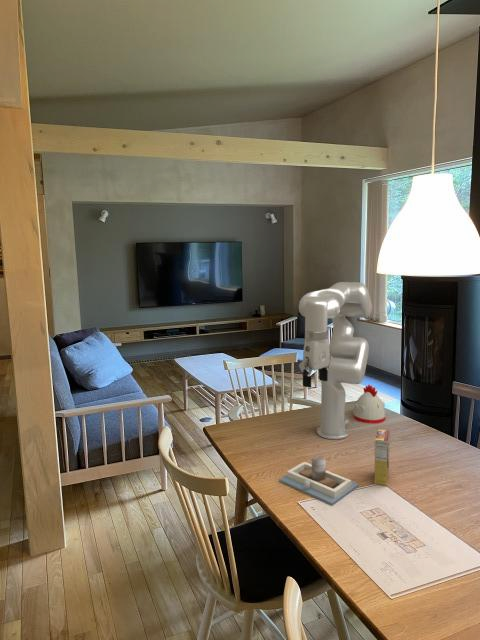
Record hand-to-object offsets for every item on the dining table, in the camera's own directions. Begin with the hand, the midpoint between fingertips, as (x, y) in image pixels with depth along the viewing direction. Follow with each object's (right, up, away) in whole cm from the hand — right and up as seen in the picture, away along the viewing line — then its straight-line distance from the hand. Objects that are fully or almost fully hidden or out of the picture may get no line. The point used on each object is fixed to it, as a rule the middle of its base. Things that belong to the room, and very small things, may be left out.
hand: (315, 383), depth 159 cm
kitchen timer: (+31, -22, +44) cm, 58 cm away
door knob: (-1, -30, -12) cm, 32 cm away
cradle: (-1, -31, -12) cm, 33 cm away
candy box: (+20, -30, -9) cm, 37 cm away
